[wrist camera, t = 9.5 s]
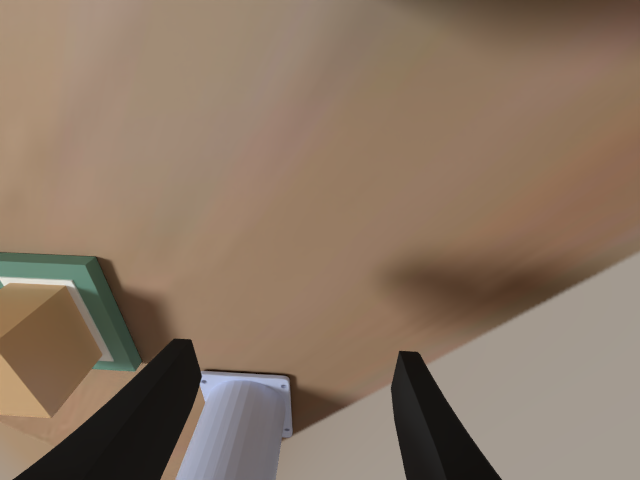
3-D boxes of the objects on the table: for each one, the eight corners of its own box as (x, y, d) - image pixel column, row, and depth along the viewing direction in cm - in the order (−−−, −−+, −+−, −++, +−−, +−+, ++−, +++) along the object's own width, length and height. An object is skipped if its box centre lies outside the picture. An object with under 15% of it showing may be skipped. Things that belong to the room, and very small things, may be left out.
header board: (141, 361, 26) (112, 406, 23) (53, 356, 26) (10, 400, 23) (95, 256, 20) (46, 295, 17) (-16, 251, 21) (-87, 288, 17)
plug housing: (102, 354, 24) (51, 418, 20) (55, 352, 24) (-6, 414, 20) (65, 285, 20) (-8, 344, 16) (9, 282, 21) (-78, 340, 16)
